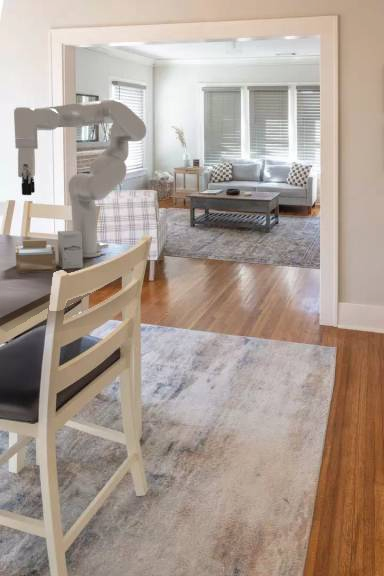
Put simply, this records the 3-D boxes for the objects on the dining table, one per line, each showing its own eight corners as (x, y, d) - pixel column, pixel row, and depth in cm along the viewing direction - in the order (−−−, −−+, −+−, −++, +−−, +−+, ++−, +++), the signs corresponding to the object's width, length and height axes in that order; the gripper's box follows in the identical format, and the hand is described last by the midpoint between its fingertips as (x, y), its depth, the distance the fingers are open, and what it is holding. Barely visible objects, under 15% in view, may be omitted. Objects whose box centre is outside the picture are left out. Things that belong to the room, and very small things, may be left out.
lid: (18, 248, 206) (18, 239, 206) (50, 247, 209) (50, 238, 209) (18, 255, 194) (18, 245, 194) (52, 254, 197) (52, 244, 197)
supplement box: (62, 269, 202) (61, 234, 199) (58, 265, 209) (57, 230, 205) (83, 268, 205) (82, 233, 202) (78, 264, 212) (77, 229, 208)
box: (17, 265, 208) (15, 245, 206) (54, 263, 211) (53, 244, 209) (16, 273, 196) (15, 252, 194) (56, 271, 199) (55, 250, 197)
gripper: (18, 144, 209) (20, 191, 213) (11, 144, 192) (14, 195, 196) (40, 144, 210) (41, 191, 214) (34, 144, 193) (36, 196, 198)
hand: (28, 193), depth 205 cm, fingers open, 9 cm apart
